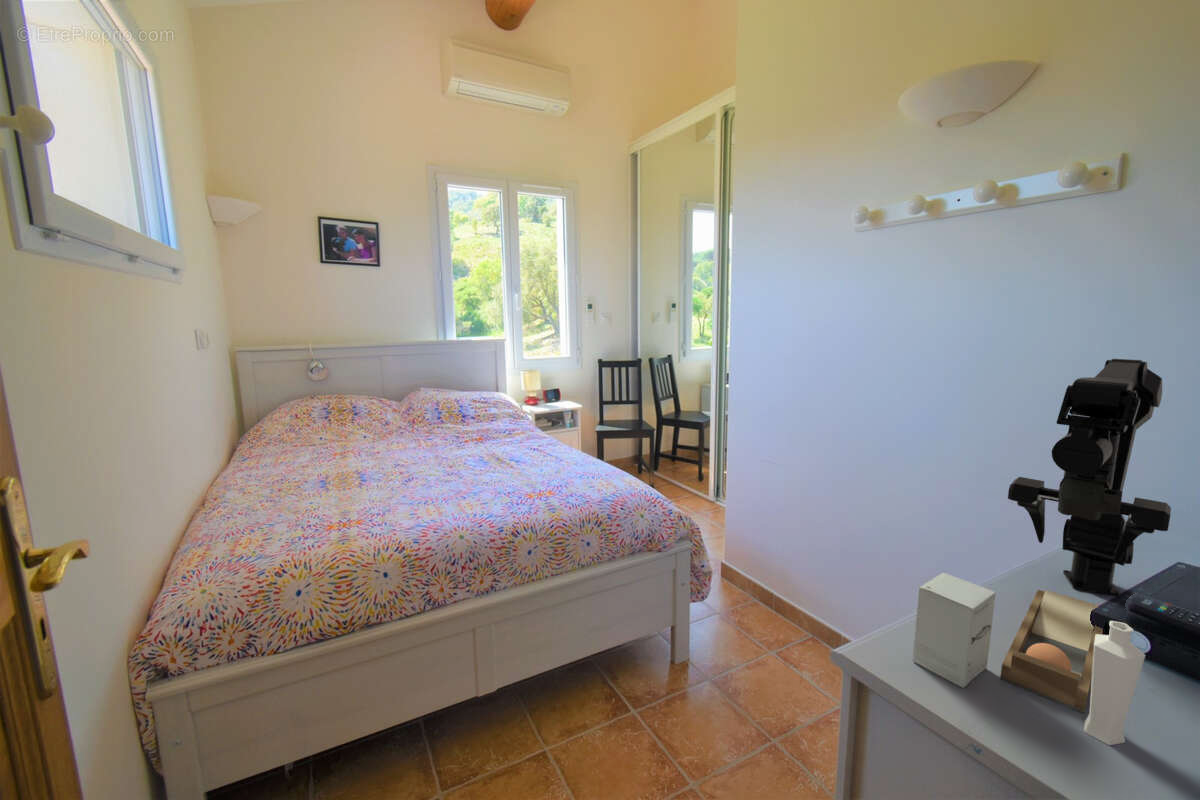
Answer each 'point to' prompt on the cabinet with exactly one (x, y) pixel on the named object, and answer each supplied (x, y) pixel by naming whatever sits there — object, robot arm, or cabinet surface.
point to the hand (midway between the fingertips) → (1077, 550)
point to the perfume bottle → (1112, 683)
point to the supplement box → (953, 628)
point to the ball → (1049, 655)
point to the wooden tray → (1064, 629)
